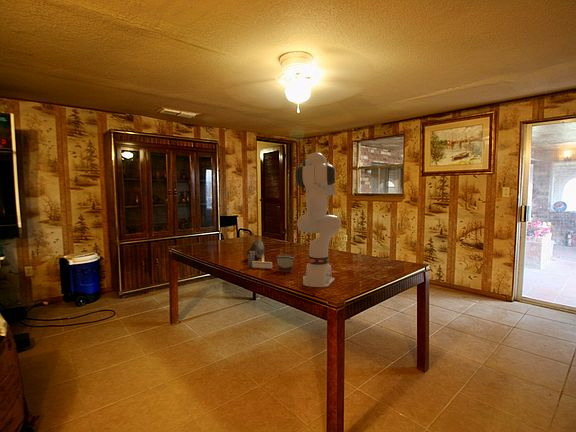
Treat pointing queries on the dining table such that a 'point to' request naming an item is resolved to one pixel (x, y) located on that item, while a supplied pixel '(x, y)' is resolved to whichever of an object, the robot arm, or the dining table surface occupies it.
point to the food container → (285, 262)
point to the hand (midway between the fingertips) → (320, 201)
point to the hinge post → (249, 261)
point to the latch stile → (252, 255)
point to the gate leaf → (261, 264)
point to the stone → (257, 249)
